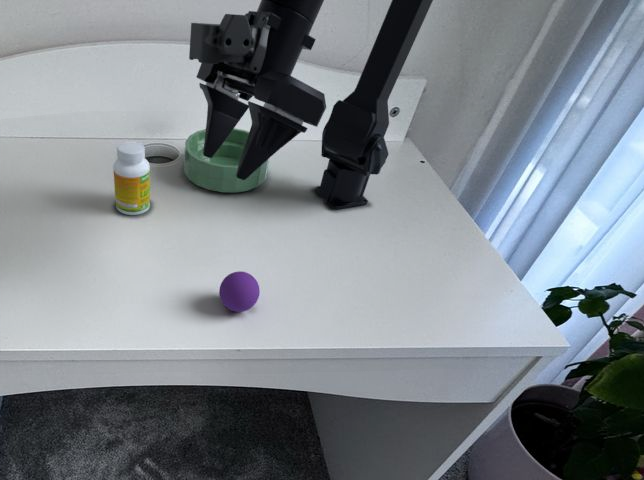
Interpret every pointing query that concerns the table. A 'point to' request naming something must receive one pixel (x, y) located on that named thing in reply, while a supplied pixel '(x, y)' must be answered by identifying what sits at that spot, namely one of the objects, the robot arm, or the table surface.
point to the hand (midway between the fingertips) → (222, 167)
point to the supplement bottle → (132, 178)
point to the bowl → (220, 164)
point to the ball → (239, 291)
